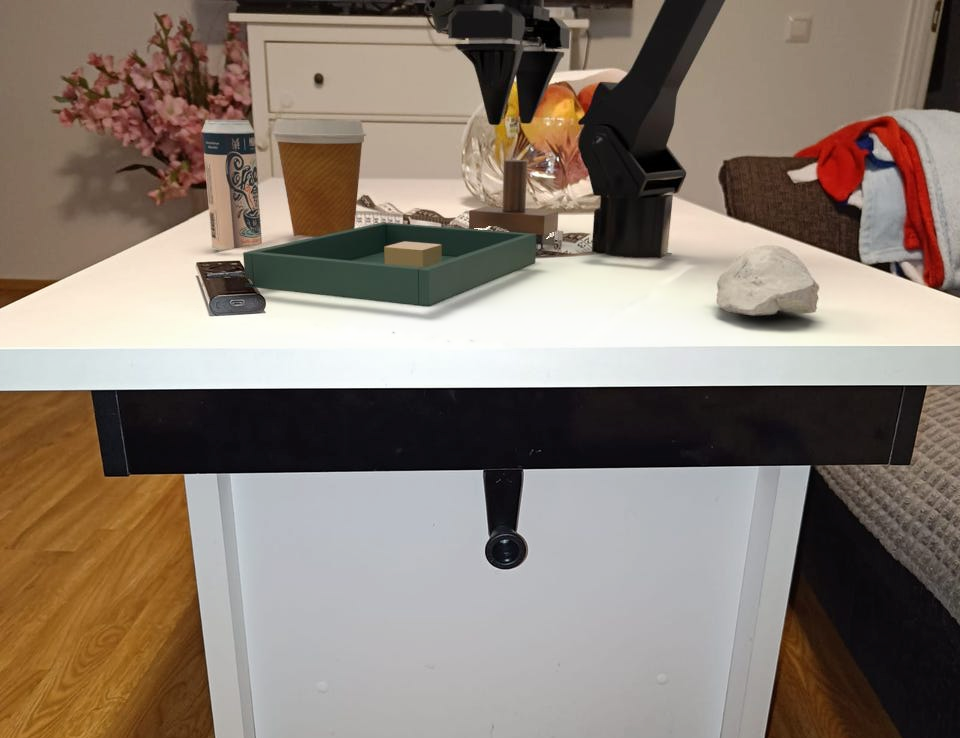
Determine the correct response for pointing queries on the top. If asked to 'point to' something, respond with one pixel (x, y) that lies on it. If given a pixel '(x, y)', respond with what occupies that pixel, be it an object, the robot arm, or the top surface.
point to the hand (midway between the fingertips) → (510, 124)
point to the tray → (364, 275)
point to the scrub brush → (516, 208)
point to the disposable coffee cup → (320, 172)
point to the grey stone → (767, 284)
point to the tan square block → (413, 254)
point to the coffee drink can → (231, 184)
